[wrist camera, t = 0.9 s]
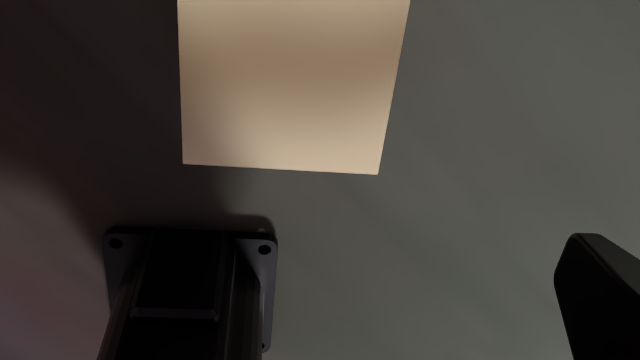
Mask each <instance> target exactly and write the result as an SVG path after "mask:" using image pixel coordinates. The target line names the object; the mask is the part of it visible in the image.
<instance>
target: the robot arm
mask: <svg viewBox="0 0 640 360" xmlns="http://www.w3.org/2000/svg"><path fill="white" fill-rule="evenodd" d="M113 238H116V239H119V240H121V242H118V241H115V240H113ZM261 245H268V246H269V247H268V248H262V247H260V246H261ZM102 246H103V254H104V261H105V268H106V275H107V282H108V289H109V297H110V304H111V311H112V312H111V316H110V319H109V322H108V325H107V328H106V332H105V335H104V338H103V341H102V344H101V348H100V351H99V354H98V357H97V360H262V353H264V352H267V351H268V350H269V348H270V344H271V331H272V318H273V305H274V292H275V279H276V267H277V254H278V242H277V239H276V238H275V236H273V235H271V234H268V233H255V232H233V231H210V230H188V229H166V228H144V227H122V226H115V227H111V228H108V229H107V230H106V232H105V234H104V237H103V239H102ZM554 288H555V292H556V295H557V299H558V303H559V307H560V310H561V314H562V318H563V321H564V325H565V329H566V333H567V336H568V340H569V344H570V348H571V351H572V355H573V359H574V360H640V260H639V259H638V258H636V257H634V256H633V255H631V254H630V253H628V252H627V251H625V250H624V249H622V248H621V247H619V246H617V245H616V244H614V243H613V242H611V241H610V240H608V239H607V238H605V237H604V236H602V235H600V234H595V233H575V234H572V235H571V236H570V237H569V238H568V240H567V242H566V245H565V247H564V250H563V252H562V255H561V257H560V260H559V262H558V264H557V267H556V269H555V273H554Z"/></svg>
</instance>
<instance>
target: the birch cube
mask: <svg viewBox="0 0 640 360" xmlns="http://www.w3.org/2000/svg"><path fill="white" fill-rule="evenodd" d="M409 4H410V0H177V6H178V35H179V64H180V93H181V121H182V150H183V164H194V165H212V166H231V167H249V168H267V169H285V170H303V171H321V172H340V173H358V174H376V175H378V170H379V165H380V159H381V154H382V149H383V143H384V138H385V133H386V127H387V122H388V117H389V111H390V106H391V101H392V95H393V90H394V85H395V79H396V74H397V69H398V63H399V58H400V53H401V47H402V42H403V37H404V31H405V26H406V20H407V15H408V10H409Z"/></svg>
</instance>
